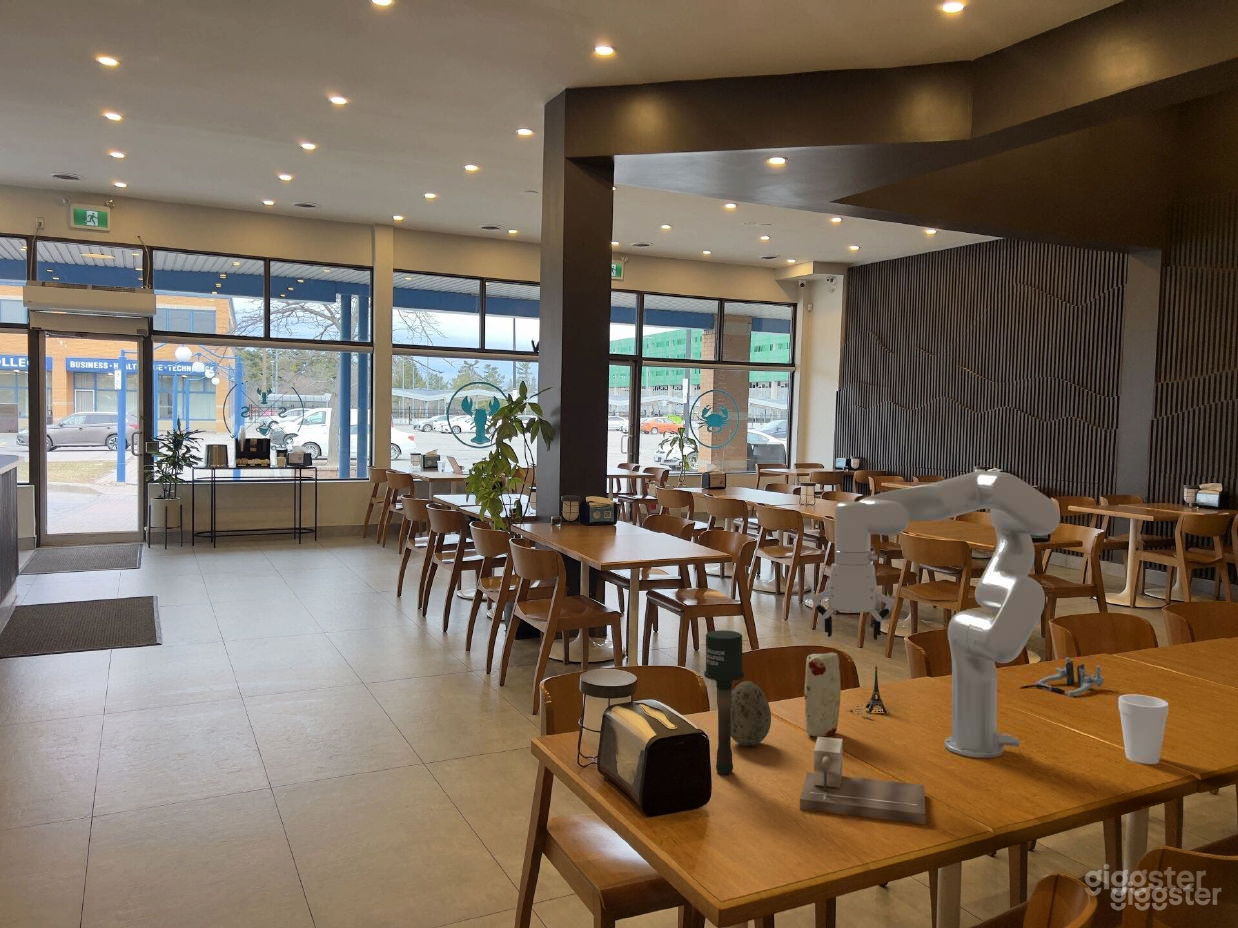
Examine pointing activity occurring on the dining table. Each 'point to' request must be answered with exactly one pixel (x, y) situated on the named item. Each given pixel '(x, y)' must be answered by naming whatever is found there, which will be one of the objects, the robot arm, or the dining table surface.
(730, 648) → the stick grenade
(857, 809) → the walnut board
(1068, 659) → the bike brake
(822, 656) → the food model
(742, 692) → the decorative egg
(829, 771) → the block
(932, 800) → the dining table surface
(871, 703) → the eiffel tower figurine
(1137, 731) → the foam cup
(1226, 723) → the dining table surface
